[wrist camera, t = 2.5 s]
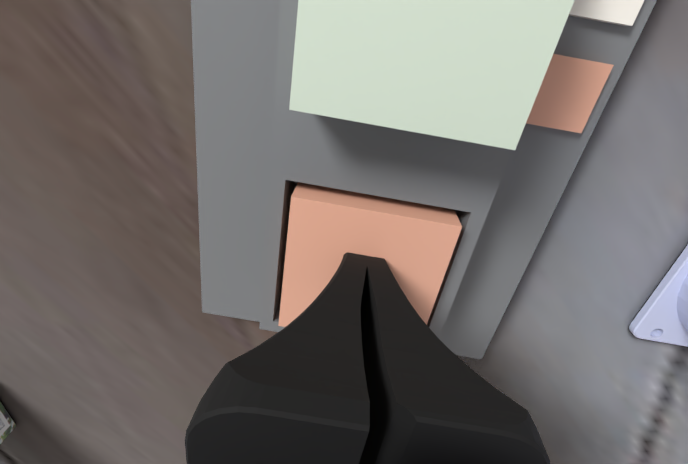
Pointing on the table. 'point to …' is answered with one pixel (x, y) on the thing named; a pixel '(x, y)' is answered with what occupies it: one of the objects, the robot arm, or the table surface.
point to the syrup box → (5, 423)
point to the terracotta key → (364, 244)
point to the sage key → (426, 63)
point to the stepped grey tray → (383, 162)
